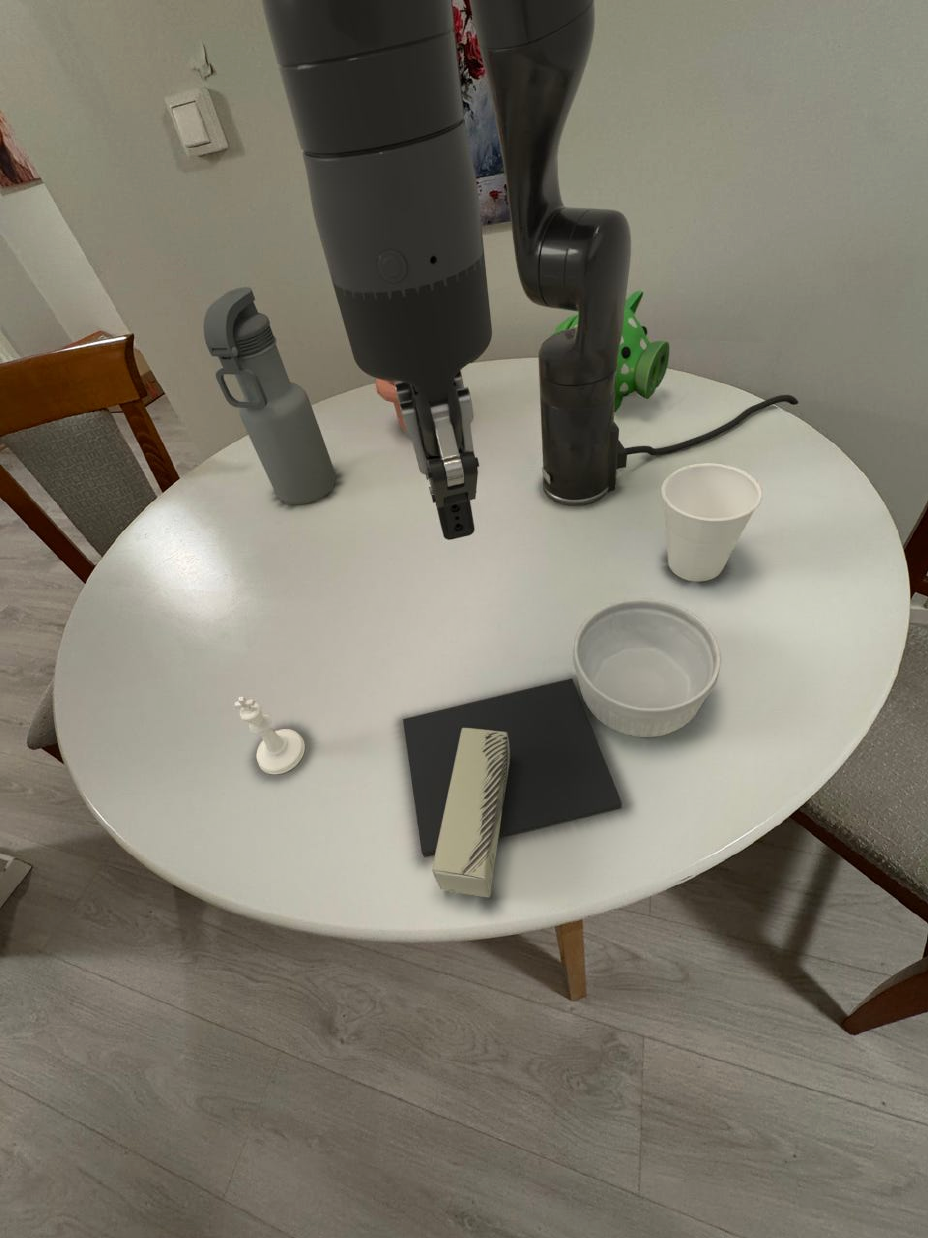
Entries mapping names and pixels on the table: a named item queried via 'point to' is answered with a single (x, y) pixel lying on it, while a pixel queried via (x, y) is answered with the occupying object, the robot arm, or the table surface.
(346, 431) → the table surface
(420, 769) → the mat
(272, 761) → the chess piece
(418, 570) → the table surface
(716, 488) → the cup
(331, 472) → the water bottle
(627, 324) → the piggy bank
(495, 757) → the box
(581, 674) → the ramekin
